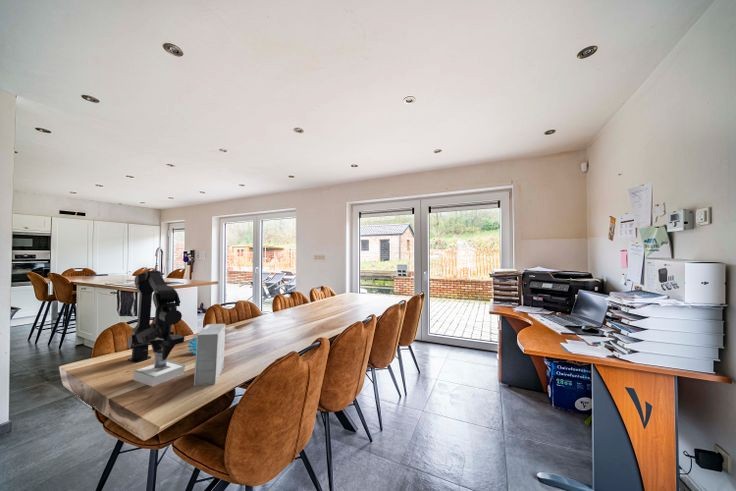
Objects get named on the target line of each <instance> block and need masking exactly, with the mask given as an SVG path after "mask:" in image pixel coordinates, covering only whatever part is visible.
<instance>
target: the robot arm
mask: <svg viewBox="0 0 736 491" xmlns="http://www.w3.org/2000/svg"><path fill="white" fill-rule="evenodd" d="M133 283H134V285H135V289H136V290H137V291H138V293H139V296H138V297H139V299H138V311H137V313H138V314H137V324H136V326H134V328H133V329H132V330H131V335H130V336H129V338H128V341H127V348H128V349H130V350H131V357H130V358H127V361H129V362H132V363H139V362H142V361H146V360H148V359H152V356H150V355H149V348H150V346H151V349H152V351H153V352H152V353H154V352H155V351H158V350H162V357H163V360H165V359H167V360H168V356H169V355H170V353H171V352H172V351H173V349H174V347H175V346H176V345H179V344H182V343H183V344H184V343H185V336H184V335H181V334H174V331H172V326H174V325H176V324H178V323H180V321H181V320H182V317H183V314H182V312H181V311H180V310H178V307H180V306H181V304H180V303H181V299H180V296H179V294H178V291H176V289H175V288H174V287H172V286H170V285H168V284H167V283H166V281H165V279H164V278H163V276H162V272H161V271H160V270H147V271H145V272H143V273H139V274H137V275H136V276H135V277H134V282H133ZM152 302H153V305H154V307H155V314H154V315H155V316H154V322H151V314H152V313H151V312H152Z"/></svg>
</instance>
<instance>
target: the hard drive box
mask: <svg viewBox="0 0 736 491" xmlns="http://www.w3.org/2000/svg"><path fill="white" fill-rule="evenodd" d="M225 340H226V323H209V324H206V325H205V326H204V327H203V328H202V329H201V330H200V331H199V332H198V333H197V335H196V341H197V343H196V353H195V362H194V363H195V364H194V365H195V366H194V375H193V377H194V378H193V386H194V387H198V386H199V387H200V386H208V385H209V386H210V385H215V384H216V383H217V381H218V379H219V376H221V373H222V372H223V369H224V366H225V365H224V362H225V342H226V341H225Z"/></svg>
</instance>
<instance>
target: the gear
mask: <svg viewBox="0 0 736 491" xmlns="http://www.w3.org/2000/svg"><path fill="white" fill-rule="evenodd" d="M188 343H189V344H188V345H187V348H189V349H188V352H191V351H192V354H193V355H196V343H197V336H195V337H192V339H190V340H189V341H188Z"/></svg>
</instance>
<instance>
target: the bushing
mask: <svg viewBox="0 0 736 491" xmlns="http://www.w3.org/2000/svg"><path fill="white" fill-rule="evenodd" d="M153 355H154V368H163V367H165V366H166V365H167V360H168V358H167V359H165V360H163V357H162V349H161V350H158V351H155V352H153Z"/></svg>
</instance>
